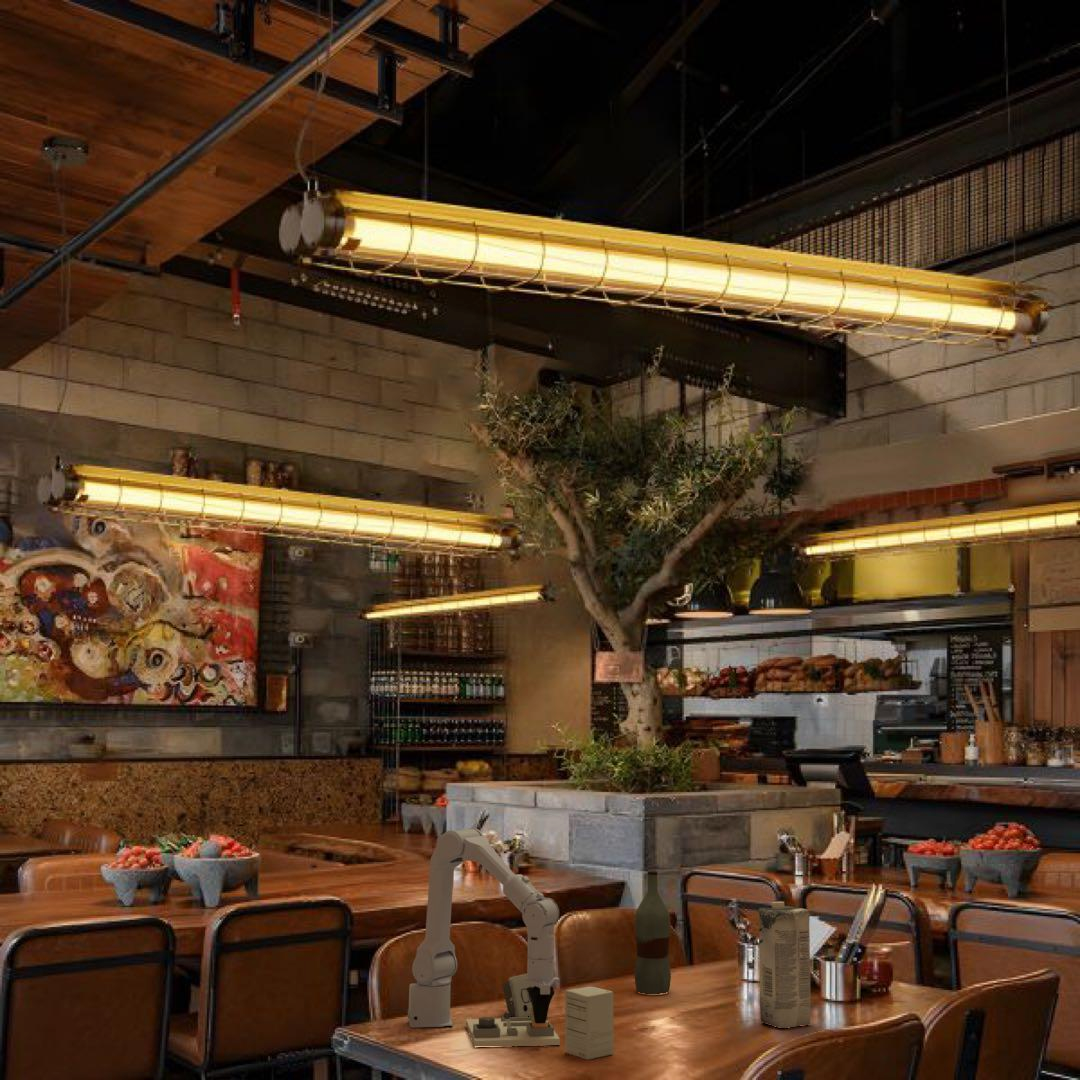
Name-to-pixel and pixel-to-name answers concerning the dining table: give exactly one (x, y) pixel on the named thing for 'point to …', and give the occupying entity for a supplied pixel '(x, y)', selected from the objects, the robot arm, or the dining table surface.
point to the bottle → (652, 941)
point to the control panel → (512, 1033)
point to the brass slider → (531, 1015)
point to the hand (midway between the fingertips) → (540, 1022)
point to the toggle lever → (508, 1020)
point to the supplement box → (589, 1022)
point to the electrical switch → (518, 996)
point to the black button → (486, 1022)
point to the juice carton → (784, 965)
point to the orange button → (539, 1025)
